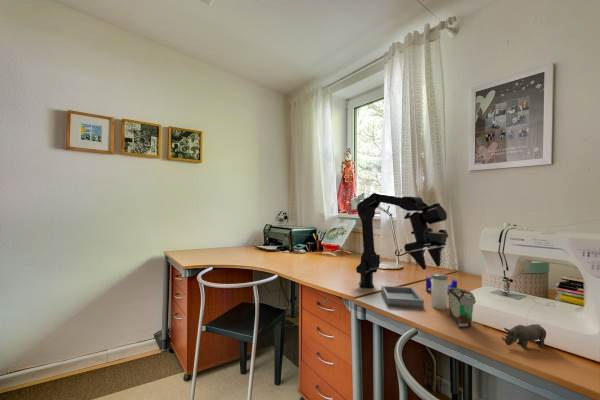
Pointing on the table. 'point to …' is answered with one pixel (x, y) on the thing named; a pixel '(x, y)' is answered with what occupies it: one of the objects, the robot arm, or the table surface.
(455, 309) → the food container
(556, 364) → the table surface
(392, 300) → the charcoal tray
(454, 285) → the cable clip
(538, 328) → the rhino figurine
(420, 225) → the robot arm
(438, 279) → the grey round glossy part
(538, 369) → the table surface
